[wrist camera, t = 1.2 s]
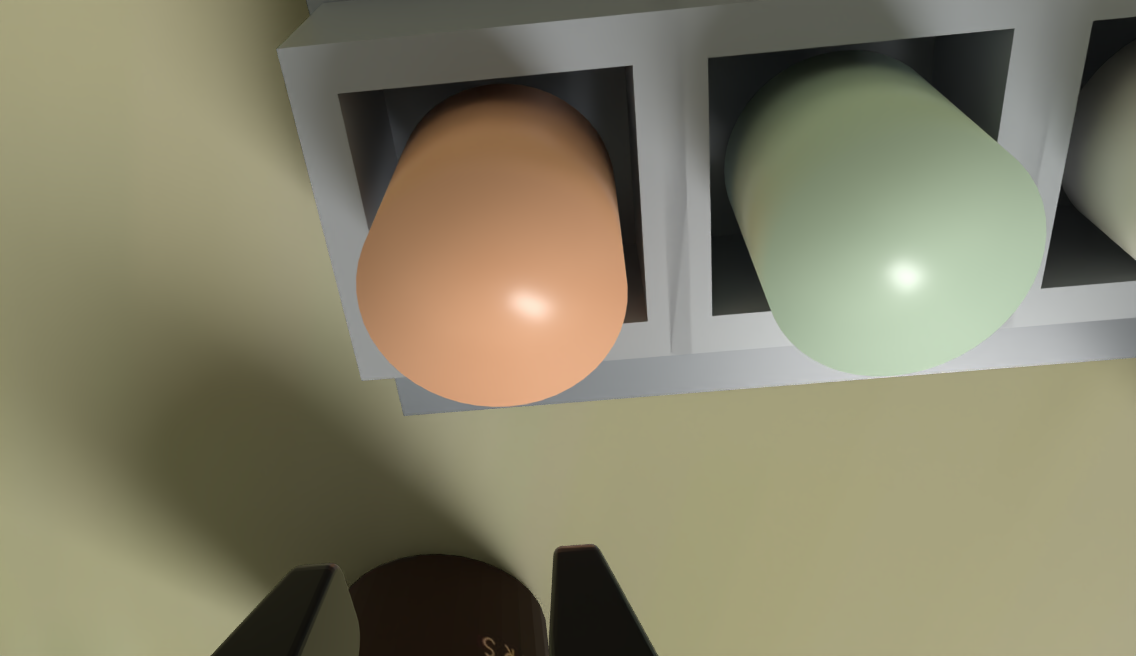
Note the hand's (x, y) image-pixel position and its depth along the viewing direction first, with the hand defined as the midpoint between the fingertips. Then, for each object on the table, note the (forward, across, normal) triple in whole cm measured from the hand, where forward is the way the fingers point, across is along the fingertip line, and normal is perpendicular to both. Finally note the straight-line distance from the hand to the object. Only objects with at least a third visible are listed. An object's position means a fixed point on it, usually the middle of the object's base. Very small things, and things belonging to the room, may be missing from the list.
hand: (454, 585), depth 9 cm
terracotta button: (+10, 0, 0) cm, 10 cm away
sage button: (+10, -6, 0) cm, 11 cm away
